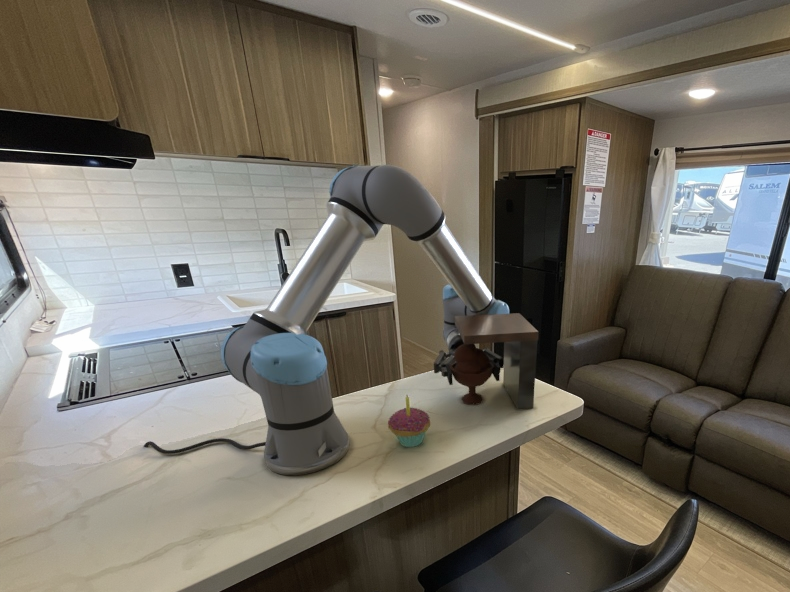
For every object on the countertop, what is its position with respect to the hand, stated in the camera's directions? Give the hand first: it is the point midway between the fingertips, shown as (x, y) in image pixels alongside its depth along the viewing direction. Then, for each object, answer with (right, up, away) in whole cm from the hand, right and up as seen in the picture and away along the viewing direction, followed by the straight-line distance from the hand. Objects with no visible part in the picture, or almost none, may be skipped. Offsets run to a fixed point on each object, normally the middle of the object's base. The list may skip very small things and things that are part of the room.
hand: (474, 377), depth 96 cm
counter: (+4, -5, +8) cm, 11 cm away
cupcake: (-13, -13, -11) cm, 22 cm away
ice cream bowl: (-1, -6, +7) cm, 9 cm away
